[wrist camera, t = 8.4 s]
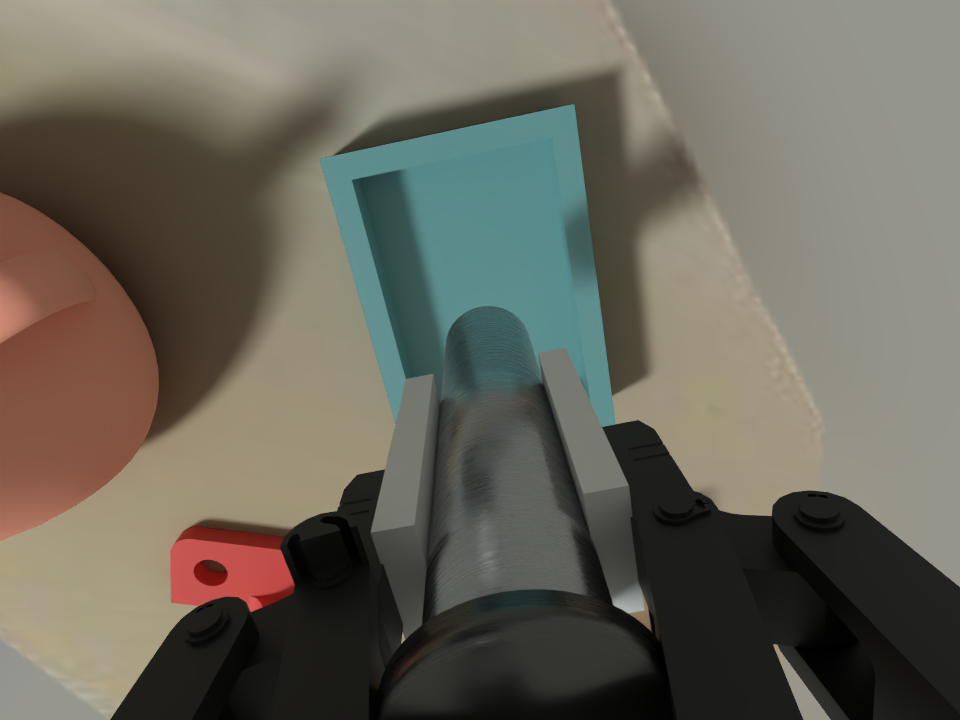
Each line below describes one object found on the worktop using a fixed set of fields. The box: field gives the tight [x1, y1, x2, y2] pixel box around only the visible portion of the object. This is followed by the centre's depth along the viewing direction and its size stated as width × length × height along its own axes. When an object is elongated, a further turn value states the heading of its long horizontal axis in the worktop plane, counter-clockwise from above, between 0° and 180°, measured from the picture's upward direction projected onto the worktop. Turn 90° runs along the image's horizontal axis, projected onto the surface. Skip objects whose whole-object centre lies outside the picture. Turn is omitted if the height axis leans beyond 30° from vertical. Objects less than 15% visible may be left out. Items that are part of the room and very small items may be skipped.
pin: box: [375, 306, 673, 720], centre depth 14 cm, size 4×4×15 cm
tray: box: [320, 104, 615, 427], centre depth 26 cm, size 14×10×2 cm
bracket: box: [170, 527, 295, 612], centre depth 30 cm, size 12×4×8 cm, turn 80°
